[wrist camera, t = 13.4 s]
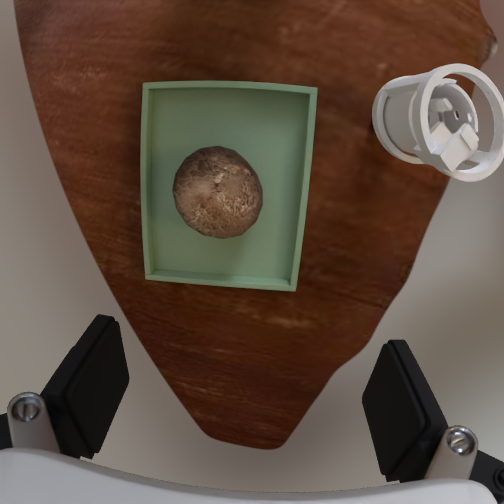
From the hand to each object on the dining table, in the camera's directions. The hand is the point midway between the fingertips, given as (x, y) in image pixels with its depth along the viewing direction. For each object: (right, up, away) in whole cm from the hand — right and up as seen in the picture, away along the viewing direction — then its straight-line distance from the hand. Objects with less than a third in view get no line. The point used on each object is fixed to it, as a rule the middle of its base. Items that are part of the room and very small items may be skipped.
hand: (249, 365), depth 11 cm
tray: (-2, +10, +19) cm, 22 cm away
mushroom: (-3, +10, +19) cm, 22 cm away
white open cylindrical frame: (+13, +17, +16) cm, 27 cm away
